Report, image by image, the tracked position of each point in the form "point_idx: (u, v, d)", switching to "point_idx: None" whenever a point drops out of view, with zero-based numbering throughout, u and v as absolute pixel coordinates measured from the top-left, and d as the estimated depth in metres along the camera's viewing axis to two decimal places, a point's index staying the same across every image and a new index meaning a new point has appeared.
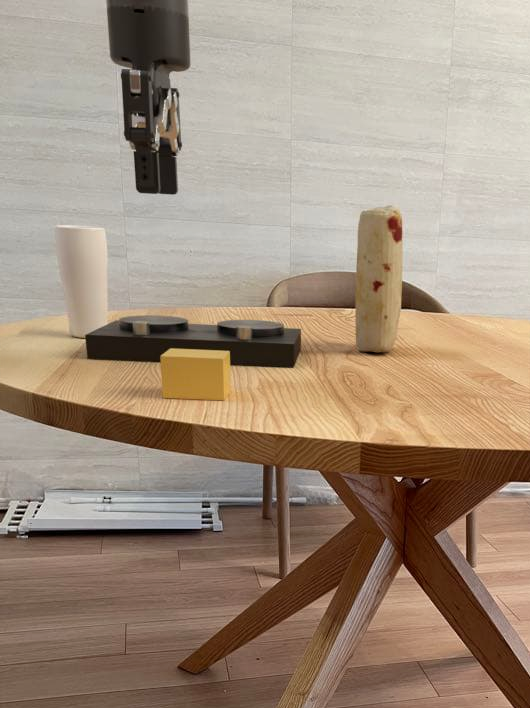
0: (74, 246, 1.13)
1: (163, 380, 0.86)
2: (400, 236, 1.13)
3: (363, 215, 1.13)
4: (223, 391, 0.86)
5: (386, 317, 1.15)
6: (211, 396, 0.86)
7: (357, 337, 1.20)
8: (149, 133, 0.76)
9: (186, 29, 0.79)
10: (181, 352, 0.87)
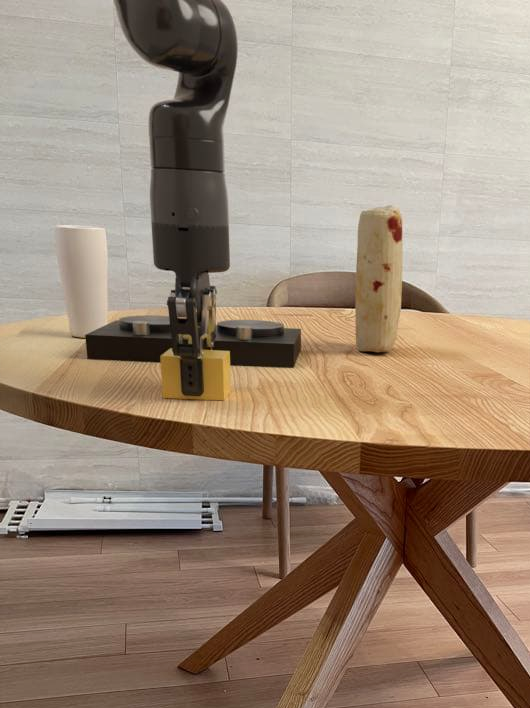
0: (74, 246, 1.13)
1: (163, 380, 0.86)
2: (400, 236, 1.13)
3: (363, 215, 1.13)
4: (223, 391, 0.86)
5: (386, 317, 1.15)
6: (211, 396, 0.86)
7: (357, 337, 1.20)
8: (196, 352, 0.82)
9: (227, 238, 0.82)
10: None
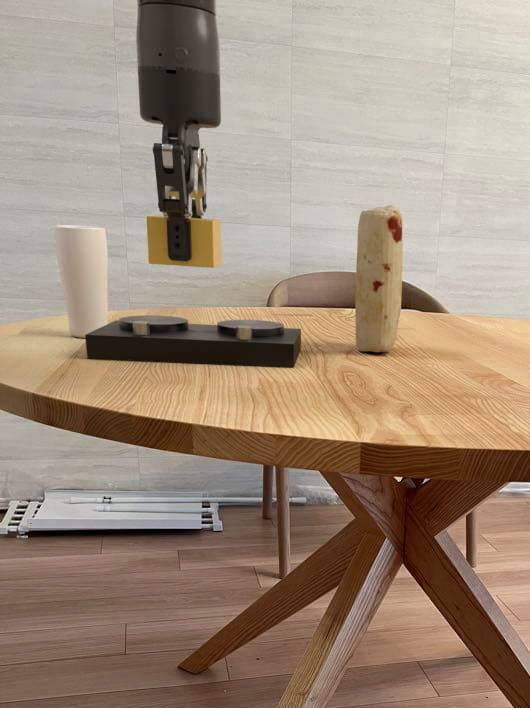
0: (74, 246, 1.13)
1: (149, 244, 0.81)
2: (400, 236, 1.13)
3: (363, 215, 1.13)
4: (212, 257, 0.82)
5: (386, 317, 1.15)
6: (200, 263, 0.82)
7: (357, 337, 1.20)
8: (183, 207, 0.77)
9: (217, 88, 0.78)
10: None
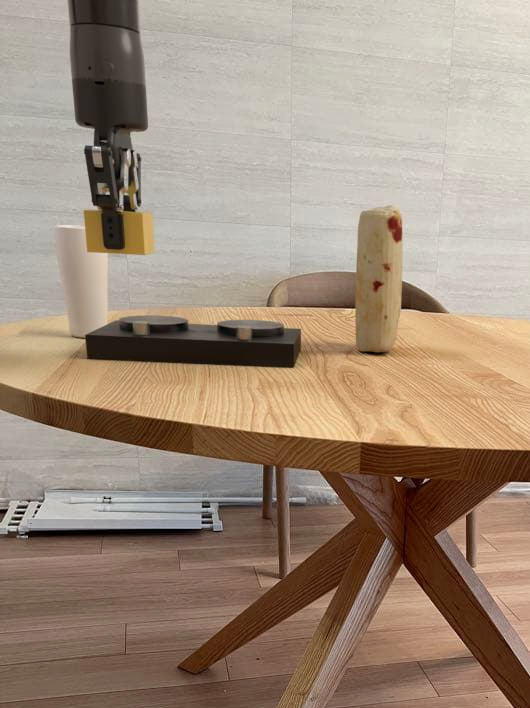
0: (74, 246, 1.13)
1: (87, 234, 0.92)
2: (400, 236, 1.13)
3: (363, 215, 1.13)
4: (143, 246, 0.93)
5: (386, 317, 1.15)
6: (132, 250, 0.93)
7: (357, 337, 1.20)
8: (114, 202, 0.88)
9: (143, 96, 0.88)
10: None
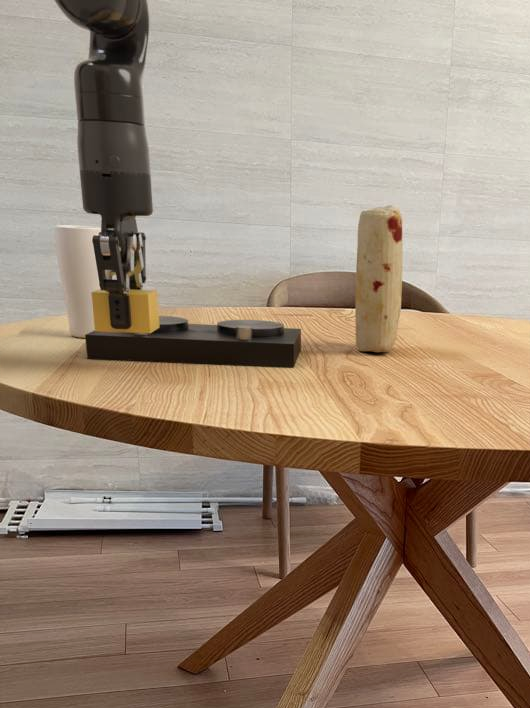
0: (74, 246, 1.13)
1: (94, 314, 0.95)
2: (400, 236, 1.13)
3: (363, 215, 1.13)
4: (149, 325, 0.96)
5: (386, 317, 1.15)
6: (138, 329, 0.96)
7: (357, 337, 1.20)
8: (121, 286, 0.91)
9: (148, 185, 0.92)
10: None
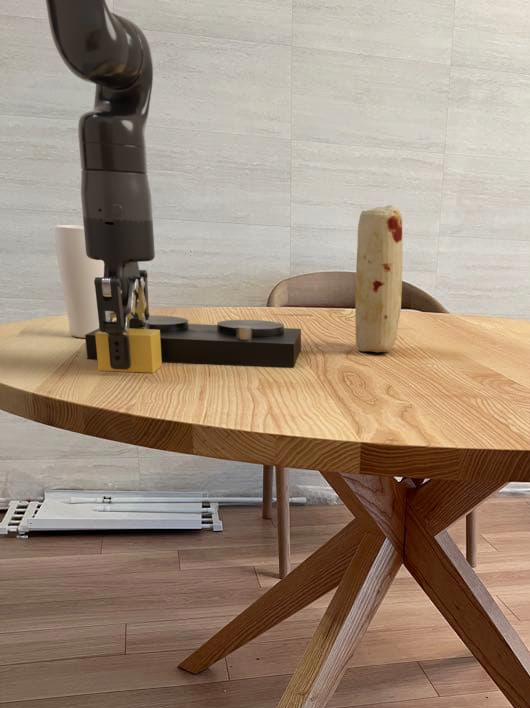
0: (74, 246, 1.13)
1: (98, 354, 0.97)
2: (400, 236, 1.13)
3: (363, 215, 1.13)
4: (152, 364, 0.98)
5: (386, 317, 1.15)
6: (141, 369, 0.98)
7: (357, 337, 1.20)
8: (120, 328, 0.92)
9: (150, 231, 0.94)
10: None
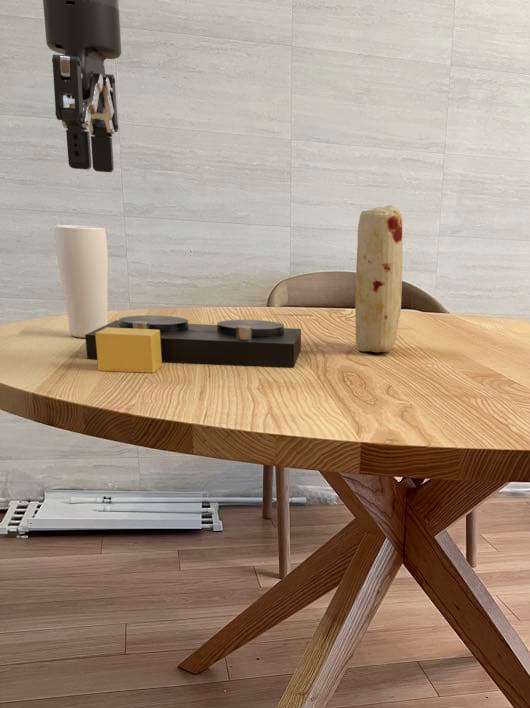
0: (74, 246, 1.13)
1: (98, 354, 0.97)
2: (400, 236, 1.13)
3: (363, 215, 1.13)
4: (152, 364, 0.98)
5: (386, 317, 1.15)
6: (141, 369, 0.98)
7: (357, 337, 1.20)
8: (78, 113, 0.84)
9: (116, 20, 0.87)
10: (115, 330, 0.99)
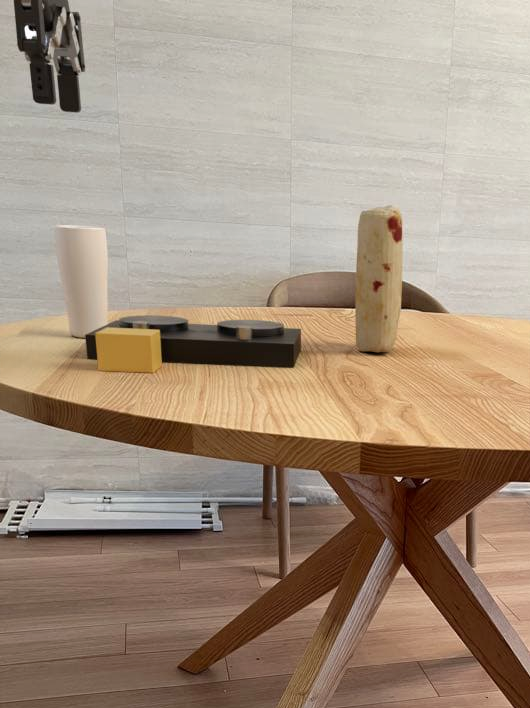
0: (74, 246, 1.13)
1: (98, 354, 0.97)
2: (400, 236, 1.13)
3: (363, 215, 1.13)
4: (152, 364, 0.98)
5: (386, 317, 1.15)
6: (141, 369, 0.98)
7: (357, 337, 1.20)
8: (40, 44, 0.83)
9: None
10: (115, 330, 0.99)
